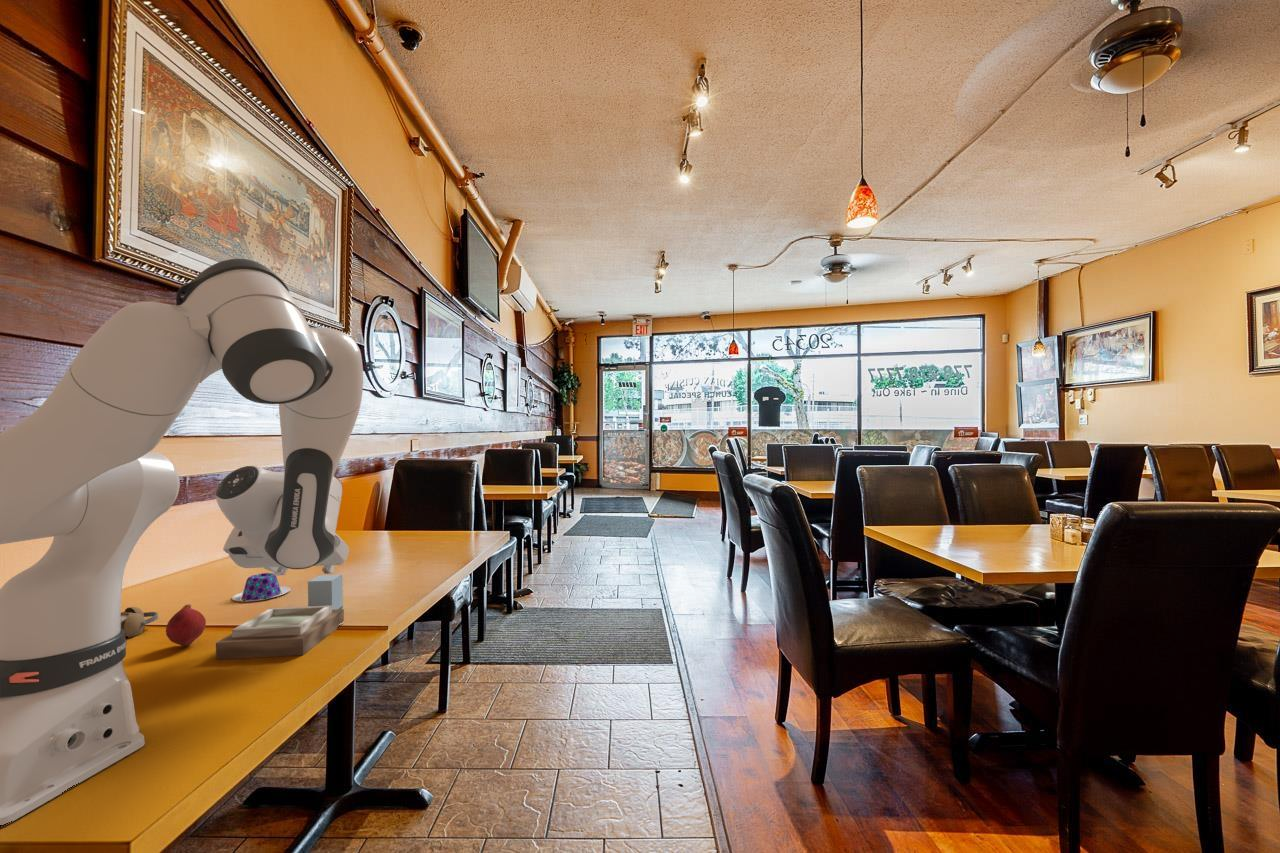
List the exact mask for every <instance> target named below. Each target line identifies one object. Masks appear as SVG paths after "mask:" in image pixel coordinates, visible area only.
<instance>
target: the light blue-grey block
mask: <svg viewBox="0 0 1280 853" xmlns="http://www.w3.org/2000/svg"><path fill="white" fill-rule="evenodd" d="M343 586H344V585H343V574H342V573H341V574H320V575H318V576H315V577H313V578H312V579H310V580H308V581H307V603H308V604H307V605H308V606H331V605H332V610H335V609H342V608H343V609H344V604H343V602H344V598H343V597H344V596H343V592H344V591H343Z"/></svg>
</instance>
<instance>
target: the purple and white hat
mask: <svg viewBox="0 0 1280 853" xmlns="http://www.w3.org/2000/svg"><path fill="white" fill-rule="evenodd" d="M277 577H278V576H277V575H276V574H275V573H274V572H265V573H263V572H262V573H258V574H253V575H251V576H249V577H248V578H247V579H246V581H245V584H244V589H243V591H241V592H239V593H237V594H235V595H233V596H232V597H231V599H232V600H233V601H236V602H244V601H243V600H246V601H251V602H255V601H263V600H269V599H273V598H276V597H280V596H282V595H285V594H287V593H289V592H290V591H291V588H290V587H289V586H282V585H281V586H280V584H279V581H278V578H277ZM280 593H282V594H280ZM278 594H279V595H278ZM275 595H276V596H275ZM273 596H274V597H273ZM241 597H242V598H241ZM270 597H271V598H270ZM240 598H241V599H242V600H240ZM263 598H266V599H263ZM260 599H261V600H260Z"/></svg>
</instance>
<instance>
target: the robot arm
mask: <svg viewBox="0 0 1280 853" xmlns="http://www.w3.org/2000/svg"><path fill="white" fill-rule="evenodd" d="M183 292H184V296H183V297H182V295H183V294H182V293H183ZM175 302H176V305H173V304H172V305H171V304H168V303H163V302H159V301H137V302H133V303H130V304H127V305H125V306H123V307H122V308H120V309H119V310H118V311H117V312H116V313H115V314H113V315H112V316H111V317H110V318H109V319H107V320H106V321H105V322H104V323H103V324H102V325H101V326H100V327H99V328H98V329H97V330H96V331H95V332H94V334H92V335H91V336H90V338H89V339H88V340H87V341H86V343H85V344H84V345H83V346H82V348H81V349H80V350H79V352H78V354H77V355H76V356H75V357H74V359H73V361H72V362H71V363H70V365H69V367H68V368H67V370H66V371H65V373H64V374H63V375H62V377H61V379H60V380H59V382H58V383H57V384H56V386H55V387H54V388H53V390H52V391H51V393H50V394H49V395H48V396H47V398H46V399H45V400H44V402H43V403H42V404H41V405H40V406H39V407H38V408H36V410H35V411H34V412H32V413H31V414H29V415H28V416H27V417H26V418H24V419H22V420H21V421H19V422H18V423H17V424H15V425H13V426H12V427H10V428H8V429H6V430H5V431H3V432H1V433H0V545H5V544H12V543H18V542H25V541H26V542H27V541H33V540H39V539H45V538H52V537H53V540H52V543H51V545H50V547H49V548H48V549H47V551H46V552H45V553H44V555H43V556H42V557H41V558H40V559H39V560H38V561H36V562H35V564H33V565H31V566H29V567H28V568H26V569H24V570H23V571H21V572H19V573H17V574H15V575H14V576H12V577H11V578H10V579H9V580H7V581H6V582H5V583H4V584H3V586H2V587H1V588H0V825H3V824H6V823H8V822H10V823H12V822H14V821H16V820H18V819H19V818H21V817H23V816H25V815H26V814H28V813H30V812H31V811H33V810H35V809H37V808H39V807H40V806H42V805H44V804H45V803H47V802H48V801H51V800H53V799H54V798H56V797H58V796H60V795H61V794H63V793H65V792H66V791H68V790H69V789H68V788H70V787H72V786H73V785H75V786H77V785H78V783H79V784H80V783H82V782H83V781H85V780H87V779H88V778H91V777H92V776H94V775H96V774H98V773H100V772H101V771H103V770H104V769H106V768H108V767H110V766H111V765H113V764H115V763H117V762H118V761H120V760H122V759H124V758H125V757H126V756H129V755H131V754H132V753H134V752H136V751H138V750H139V749H141V748H143V747H144V746H145V745H146V742H145V740H146V739H145V736H144V734H142V733H141V732H140V726H139V724H138V722H137V719H136V712H135V706H134V699H133V692H132V691H133V690H132V686H131V682H130V680H129V679H128V675H127V674H126V672H125V669H124V665H123V663H124V662H123V660H124V659H125V657H126V656H127V646H128V645H127V644H128V643H127V640H126V636H125V630H124V629H122V628H121V612H122V605H121V604H122V591H123V580H124V575H125V571H126V567H127V563H128V560H129V559H130V556H131V553H132V552H133V551H134V548H135V547H136V544H137V543H138V541H139V540H140V538H141V537H142V535H143V534H144V533H145V532H146V531H147V530H148V528H149V527H150V526H151V525H152V524H153V523H154V522H155V521H156V520H157V519H158V518H159V517H161V516H163V514H164V513H166V512H167V511H169V510H170V508H171V507H172V506H173V504H174V503H175V502H176V500H177V497H178V496H179V491H180V486H181V485H180V484H181V483H180V482H181V481H180V475H179V473H178V470H177V468H176V467H175V465H174V464H173V462H172V461H171V460H170V459H169V458H168V457H167V456H165V455H164V454H162V453H160V452H155V451H152V450H154V449H155V448H156V447H157V446H158V445H159V443H160V442H161V441H162V439H163V437H165V435H166V433H168V431H169V429H170V428H171V427H172V425H173V424H174V423H175V421H176V419H177V418H178V417H179V415H180V414H181V412H182V411H183V409H185V407H186V406H187V404H188V403H189V401H190V399H191V398H192V397H193V395H194V394H195V391H196V390H197V387H198V386H199V385H200V384H201V383H203V381H204V380H206V379H207V378H208V377H209V376H211V375H213V374H214V373H216V372H218V371H220V370H222V373H223V376H224V377H225V379H226V381H227V382H228V383H229V384H230V386H231V387H232V388H233V389H234V390H235V391H236V392H237V393H238V394H239V395H240V396H241V397H243V398H244V399H246V400H248V401H251V402H254V403H256V404H257V403H258V404H262V405H263V404H264V405H278V414H279V426H280V434H281V447H282V449H281V450H282V459H283V460H282V462H283V463H282V464H283V471H274V470H273V471H272V470H268V469H265V468H263V467H260V466H258V465H245V466H241V467H238V468H237V469H234V470H233V471H231V472H230V473H228V474H226V476H225V477H224V478H223V479H222V480H221V481H220V483H219V485H218V486H217V489H216V492H215V500H216V502H217V505H218V507H219V509H220V511H221V513H222V514H223V515H224V516H225V517H226V519H227V521H228V522H229V523H230V524H231V525H232V527H233V528H232V530H231V531H230V533H229V535H228V537H227V539H226V541H225V543H224V546H223V547H222V548H223V549H222V550H223V552H225V553H226V554H227V555H228V557H229V558H230V559H231V560H232V561H233V562H234V563H235V564H236V565H237V567H240V568H243V569H261V568H262V569H264V570H267V571H269V572H271V573H274V574H275V575H276V577H278V576H285V575H287V572H288V569H289V570H305V569H308V568H312V567H317V566H318V567H319V566H323V567H322V569H321V571H322V572H323V573H324V574H323V575H333V573H334V571H335V568H336V566H341V565H343V564H344V563H345V562H346V560H347V558H348V557H349V552H350V548H349V546H348V544H347V543H346V542H345V541H344V540H343V539H342V538H341V537H340V536H339V534H337V533H336V530H337V525H338V519H339V514H340V508H341V502H342V496H343V489H344V487H343V486H344V485H343V483H342V481H341V480H340V478H338V477H337V476H336V475H335V474H336V471H337V468H338V466H339V463H340V461H341V458H342V456H343V454H344V451H345V449H346V446H347V444H348V441H349V440H350V436H351V435H352V434H353V433H352V432H353V431H354V427H355V425H356V422H357V419H358V417H359V413H360V409H361V404H362V398H363V390H364V389H363V388H364V366H363V358H362V353H361V349H360V347H359V345H358V344H357V343H356V341H355V340H354V339H353V338H352V337H351V336H349V335H348V334H347V333H346V332H345V333H344V332H343V331H341V330H338V329H335V328H330V327H325V326H322V327H321V326H320V327H310V325H309V324H308V322H307V317H306V316H305V314H304V312H303V310H302V309H301V307H300V306H299V304H298V303H297V301H296V299H295V298H294V297H293V296H292V294H291V293H290V290H289V288H288V286H287V285H286V283H285V282H284V281H283V280H282V279H281V278H280V277H279V276H278V275H277V274H276V273H275V272H274V271H272V269H270V268H268V267H267V266H266V265H263V264H262V263H260V262H257V261H254V260H251V259H246V258H229V259H225V260H221V261H219V262H217V263H214V264H212V265H210V266H208V267H207V268H205V269H203V270H202V271H201V272H200V273H199V274H198V275H197V276H196V277H195V278H194V279H193V280H191V281H188V282H186V283H184V284H182V285H181V286H180V287H179V288H178V290H177V292H176V299H175ZM76 784H77V785H76ZM73 787H74V786H73ZM73 787H72V788H73ZM67 789H68V790H67ZM70 789H71V788H70ZM65 790H66V791H65ZM64 791H65V792H64ZM62 792H63V793H62ZM11 821H12V822H11ZM8 824H9V823H8ZM6 825H7V824H6Z"/></svg>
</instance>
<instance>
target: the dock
mask: <svg viewBox="0 0 1280 853" xmlns="http://www.w3.org/2000/svg"><path fill="white" fill-rule="evenodd" d="M344 610H345V609H344V608H343V609H335V610H332V605H331V606H286V607H284V606H283V607H270V608H268V609H267V610H265V611H263V612H261V613H259V614H258V615H256V616H254V617H253V618H251V619H248V620H247V621H245V622H242V623H241V624H240V625H238V626H236V627H234V628H232V629H231V633H230V634H228V635H227V636H225V637H223V638H221V639H220V640H218V641H216V642H215V660H228V659H247V658H249V659H250V658H271V657H273V658H275V657H289V656H290V657H292V656H293V657H294V656H295V657H296V656H304V655H306V654H307V653H308V652H309V651H310V650H312V649H313V648H314V647H316V646H317V645H318V644H319V643H321V642H322V641H324V640H325V639H326V638H327V637H329V636H330V635H331V634H332V633H334V631H336V630H337V629H338V628H337V627H338V625H339V624H340V623H342V622H343V621H344V622H345V611H344Z"/></svg>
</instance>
